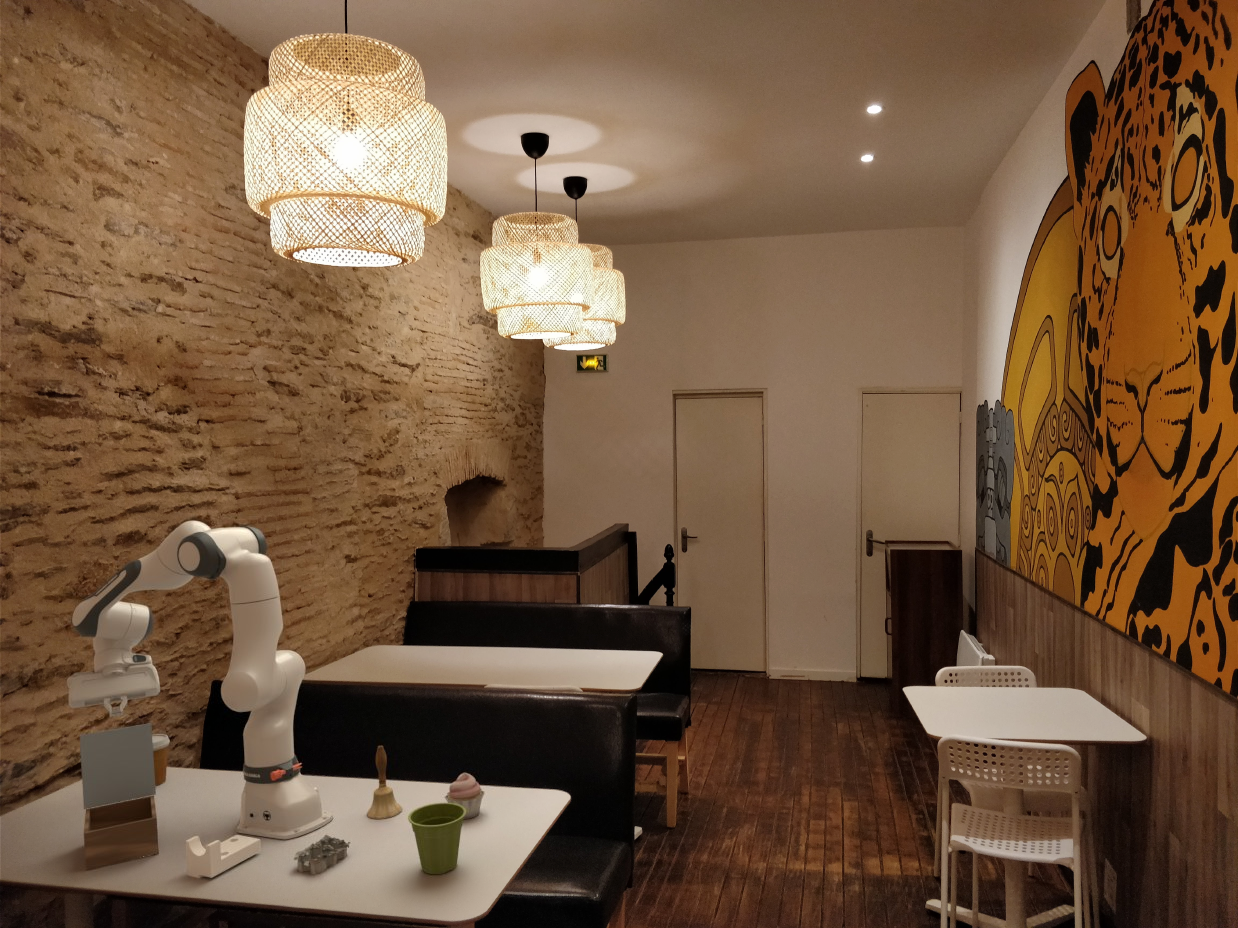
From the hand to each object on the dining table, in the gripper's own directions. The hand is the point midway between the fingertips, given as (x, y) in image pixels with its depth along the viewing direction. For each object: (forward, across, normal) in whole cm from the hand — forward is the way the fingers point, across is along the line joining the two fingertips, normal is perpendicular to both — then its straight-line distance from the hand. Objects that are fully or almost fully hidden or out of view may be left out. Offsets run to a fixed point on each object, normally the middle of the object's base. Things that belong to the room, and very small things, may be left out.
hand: (116, 714), depth 227 cm
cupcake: (+54, +71, -18) cm, 91 cm away
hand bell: (+44, +55, -9) cm, 72 cm away
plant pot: (+70, +58, -35) cm, 97 cm away
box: (+34, 0, +1) cm, 34 cm away
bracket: (+50, +19, -14) cm, 56 cm away
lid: (+16, 0, -3) cm, 16 cm away
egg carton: (+58, +37, -22) cm, 73 cm away
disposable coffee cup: (+3, +7, +32) cm, 33 cm away
